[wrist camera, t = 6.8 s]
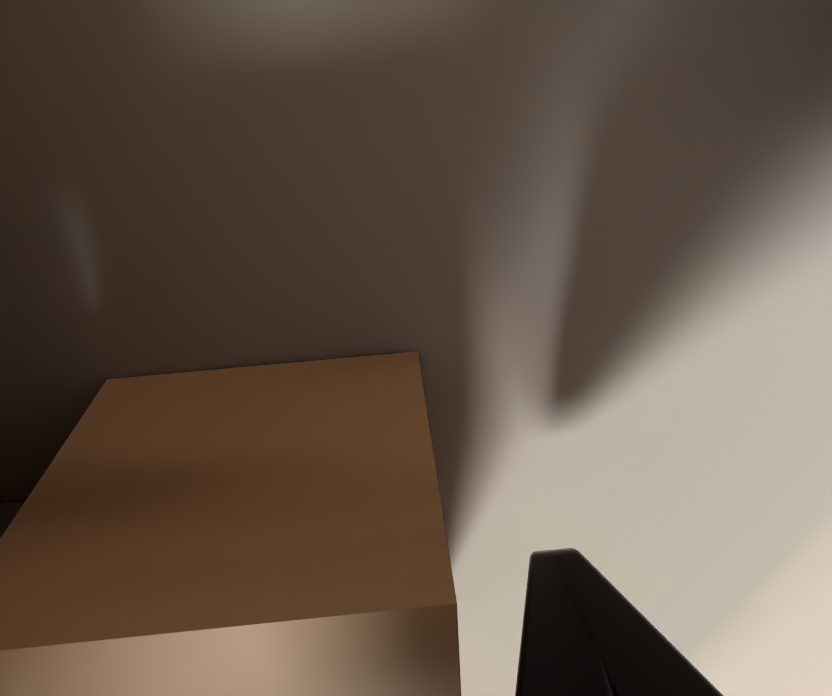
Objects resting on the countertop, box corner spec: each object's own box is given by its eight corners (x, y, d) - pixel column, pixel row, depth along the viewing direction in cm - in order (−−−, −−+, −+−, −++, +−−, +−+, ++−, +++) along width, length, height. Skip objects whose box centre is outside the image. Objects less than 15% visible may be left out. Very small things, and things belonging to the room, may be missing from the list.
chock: (436, 612, 11) (470, 907, 7) (195, 636, 11) (113, 949, 7) (418, 351, 8) (456, 602, 5) (106, 379, 8) (-81, 659, 5)
